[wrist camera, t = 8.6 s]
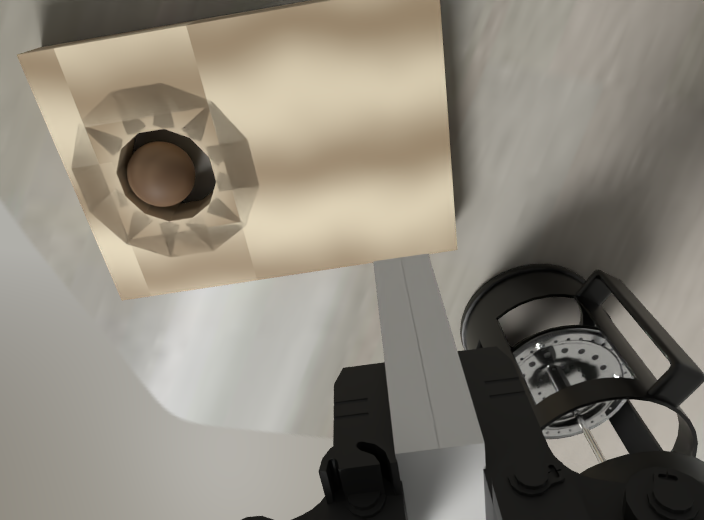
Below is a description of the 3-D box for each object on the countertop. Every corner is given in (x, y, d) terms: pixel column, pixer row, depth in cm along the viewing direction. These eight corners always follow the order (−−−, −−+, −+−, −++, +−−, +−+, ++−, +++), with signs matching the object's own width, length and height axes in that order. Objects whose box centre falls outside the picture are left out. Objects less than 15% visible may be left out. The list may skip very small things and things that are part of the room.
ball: (107, 147, 29) (134, 157, 27) (168, 129, 31) (198, 137, 29) (128, 208, 31) (155, 222, 28) (184, 187, 33) (213, 199, 30)
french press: (536, 399, 41) (734, 825, 21) (429, 355, 39) (535, 788, 19) (644, 277, 36) (1037, 681, 16) (528, 218, 34) (819, 605, 14)
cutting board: (41, 47, 28) (16, 54, 26) (430, -21, 27) (438, -19, 25) (134, 278, 35) (121, 300, 33) (449, 231, 34) (457, 249, 32)
